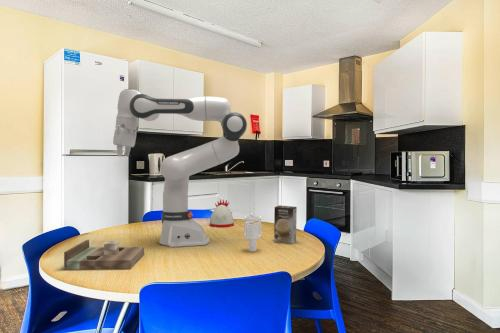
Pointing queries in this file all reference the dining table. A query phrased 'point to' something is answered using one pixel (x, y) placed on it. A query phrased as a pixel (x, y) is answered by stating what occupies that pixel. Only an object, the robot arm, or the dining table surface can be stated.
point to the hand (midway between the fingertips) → (123, 156)
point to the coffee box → (285, 224)
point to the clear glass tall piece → (252, 230)
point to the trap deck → (100, 257)
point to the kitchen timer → (221, 216)
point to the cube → (111, 247)
